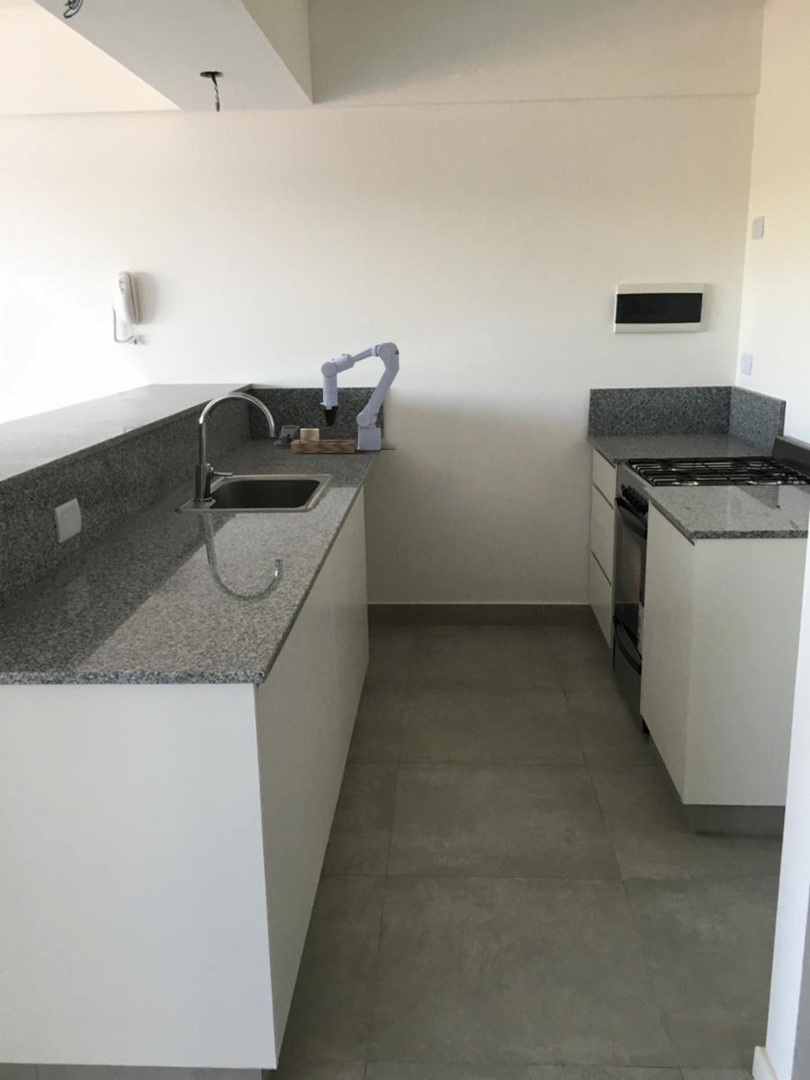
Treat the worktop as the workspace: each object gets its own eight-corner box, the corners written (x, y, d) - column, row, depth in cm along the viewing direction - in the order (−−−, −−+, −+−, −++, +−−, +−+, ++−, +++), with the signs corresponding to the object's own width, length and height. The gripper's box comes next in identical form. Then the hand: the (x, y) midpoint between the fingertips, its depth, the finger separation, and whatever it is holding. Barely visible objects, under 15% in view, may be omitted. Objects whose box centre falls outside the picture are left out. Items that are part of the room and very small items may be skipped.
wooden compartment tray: (355, 449, 371) (355, 440, 370) (354, 453, 361) (353, 443, 360) (294, 449, 371) (294, 439, 370) (291, 453, 362) (290, 443, 361)
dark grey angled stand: (301, 425, 398) (294, 432, 373) (301, 440, 399) (294, 448, 375) (281, 425, 398) (272, 432, 374) (281, 440, 399) (273, 448, 375)
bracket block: (319, 448, 368) (319, 428, 366) (318, 449, 364) (317, 429, 362) (302, 448, 368) (301, 428, 366) (300, 449, 364) (300, 429, 362)
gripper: (322, 390, 377) (323, 423, 381) (318, 393, 363) (319, 427, 367) (339, 390, 377) (339, 423, 381) (336, 393, 363) (336, 427, 367)
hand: (330, 425), depth 374 cm, fingers open, 7 cm apart
